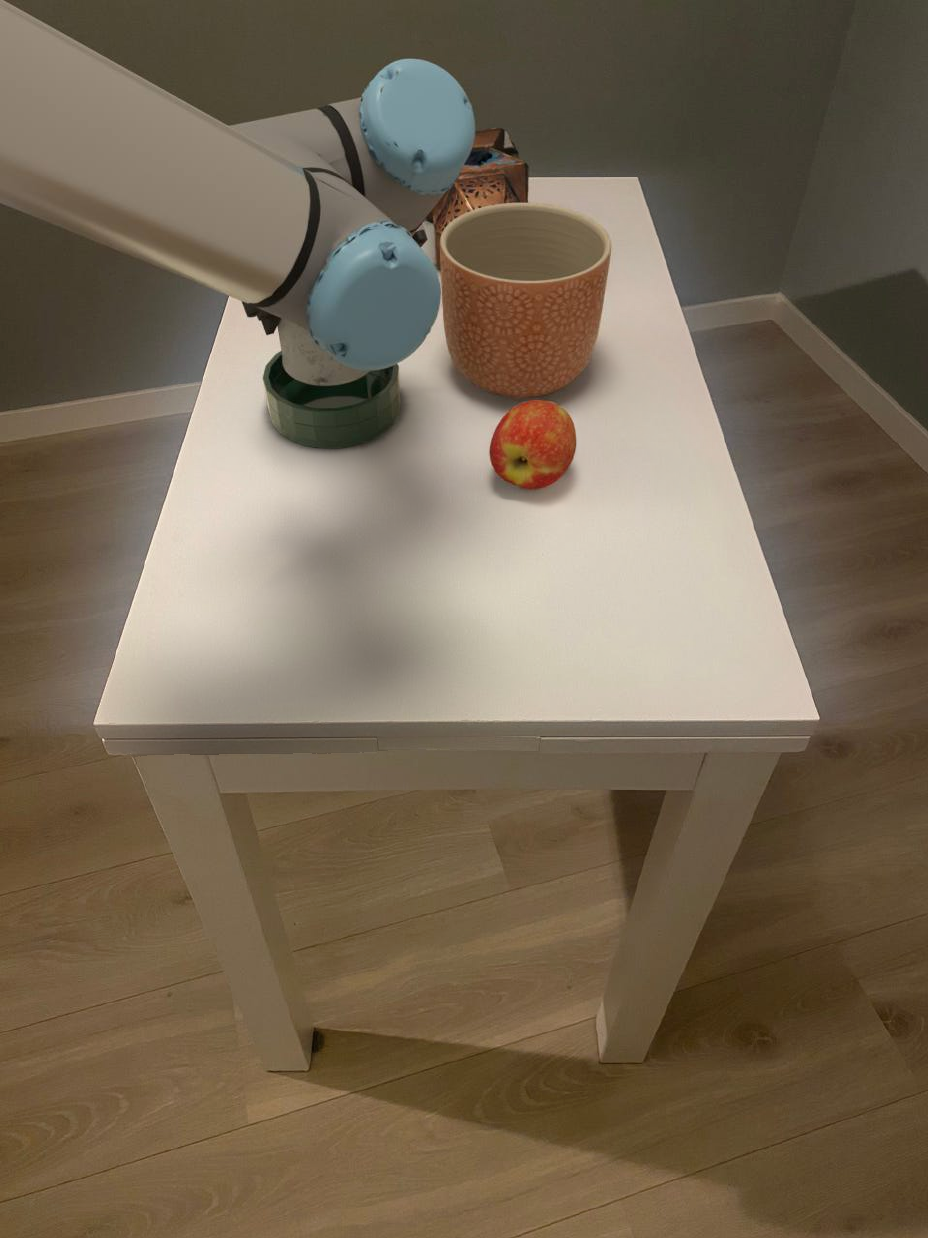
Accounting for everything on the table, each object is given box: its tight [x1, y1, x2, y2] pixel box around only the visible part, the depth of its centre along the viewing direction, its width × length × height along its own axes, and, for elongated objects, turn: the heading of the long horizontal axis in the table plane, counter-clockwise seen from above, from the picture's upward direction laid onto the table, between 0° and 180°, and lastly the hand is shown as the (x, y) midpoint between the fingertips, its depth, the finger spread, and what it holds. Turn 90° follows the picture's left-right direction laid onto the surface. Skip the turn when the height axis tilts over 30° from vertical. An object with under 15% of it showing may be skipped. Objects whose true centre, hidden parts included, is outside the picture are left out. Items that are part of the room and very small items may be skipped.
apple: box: [489, 399, 577, 490], centre depth 89 cm, size 8×8×8 cm
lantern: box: [426, 127, 530, 270], centre depth 118 cm, size 16×16×25 cm
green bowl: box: [262, 350, 401, 449], centre depth 98 cm, size 14×14×4 cm
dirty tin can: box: [277, 318, 370, 386], centre depth 90 cm, size 10×10×12 cm
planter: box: [440, 202, 612, 399], centre depth 98 cm, size 17×17×15 cm
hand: (313, 308), depth 94 cm, fingers closed on dirty tin can, 9 cm apart
